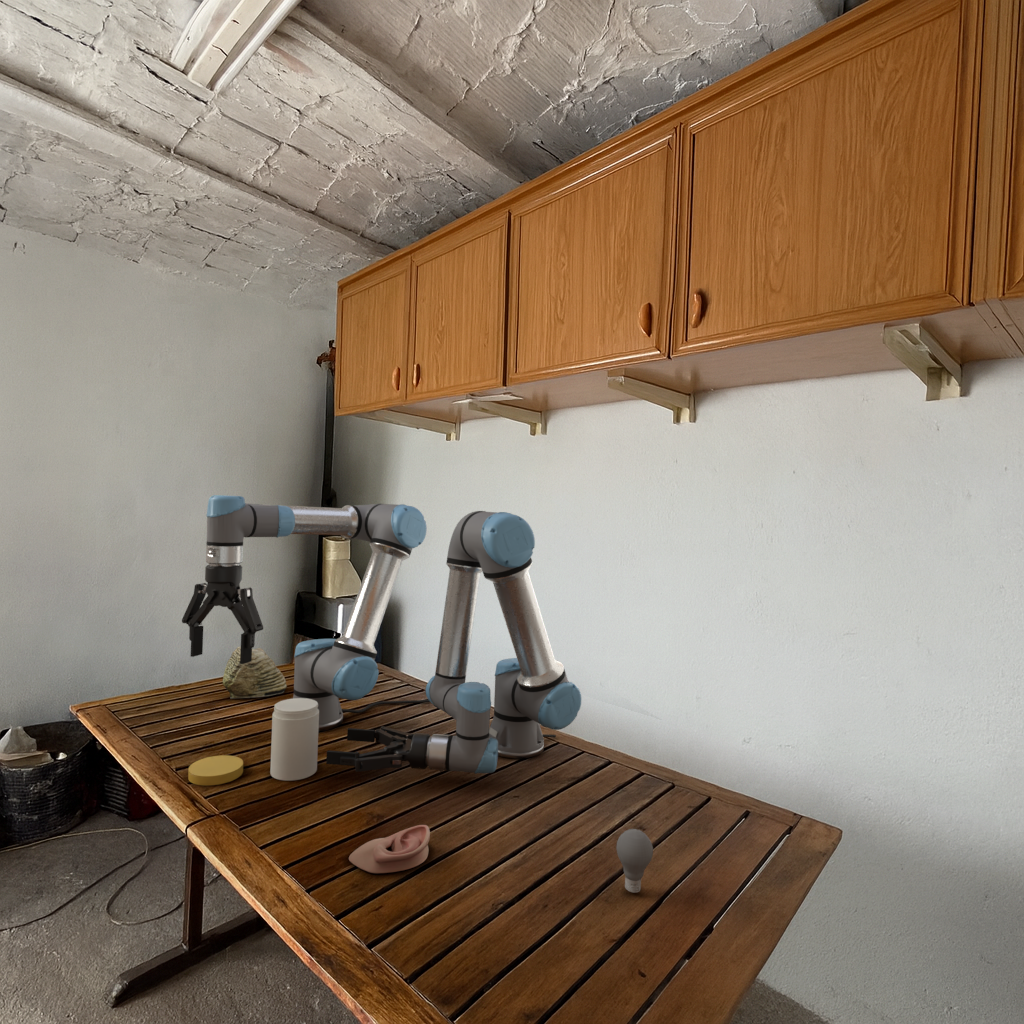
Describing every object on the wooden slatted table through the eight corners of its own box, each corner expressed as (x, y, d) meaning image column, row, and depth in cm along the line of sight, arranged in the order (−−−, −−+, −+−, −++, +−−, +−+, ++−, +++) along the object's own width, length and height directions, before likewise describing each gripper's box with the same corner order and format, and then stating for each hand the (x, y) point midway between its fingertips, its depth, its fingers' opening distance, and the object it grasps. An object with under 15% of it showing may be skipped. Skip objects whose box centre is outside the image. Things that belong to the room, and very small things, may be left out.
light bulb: (610, 879, 108) (613, 822, 108) (644, 879, 109) (647, 822, 109) (619, 902, 102) (622, 840, 102) (655, 901, 103) (658, 840, 103)
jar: (321, 762, 151) (323, 697, 151) (311, 780, 141) (313, 712, 141) (277, 761, 150) (280, 697, 150) (264, 780, 140) (266, 711, 140)
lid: (228, 759, 150) (229, 751, 150) (252, 774, 143) (252, 765, 143) (179, 774, 141) (179, 765, 141) (201, 790, 134) (201, 781, 134)
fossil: (218, 695, 195) (220, 647, 195) (278, 685, 208) (279, 640, 207) (228, 703, 189) (230, 653, 188) (289, 692, 201) (290, 645, 201)
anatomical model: (341, 845, 108) (369, 813, 120) (340, 868, 108) (368, 833, 120) (414, 857, 106) (436, 823, 117) (413, 880, 106) (435, 844, 117)
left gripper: (166, 561, 142) (163, 656, 142) (259, 570, 134) (255, 669, 134) (192, 559, 149) (189, 649, 149) (282, 567, 141) (278, 661, 142)
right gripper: (416, 793, 131) (316, 785, 132) (439, 746, 156) (354, 740, 157) (417, 757, 131) (317, 750, 132) (440, 716, 156) (355, 710, 157)
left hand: (220, 659), depth 142 cm, fingers open, 13 cm apart
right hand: (337, 745), depth 145 cm, fingers open, 13 cm apart
